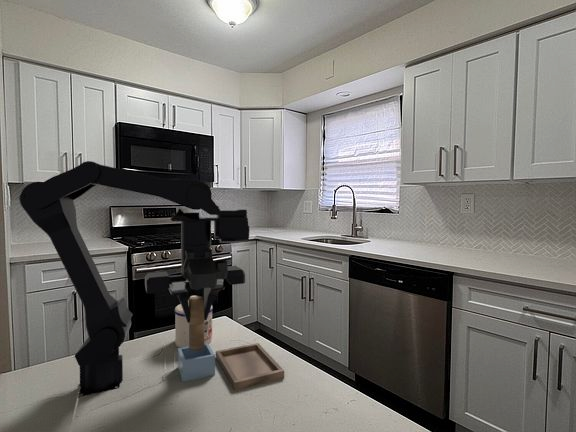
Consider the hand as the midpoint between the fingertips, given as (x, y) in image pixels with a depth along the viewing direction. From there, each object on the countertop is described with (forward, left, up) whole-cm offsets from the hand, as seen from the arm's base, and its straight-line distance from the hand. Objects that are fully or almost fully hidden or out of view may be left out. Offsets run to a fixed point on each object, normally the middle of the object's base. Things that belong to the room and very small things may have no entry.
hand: (196, 320), depth 66 cm
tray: (+10, -3, -11) cm, 15 cm away
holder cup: (0, 0, -11) cm, 11 cm away
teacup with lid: (+3, +16, -11) cm, 20 cm away
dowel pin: (0, 0, -5) cm, 5 cm away
